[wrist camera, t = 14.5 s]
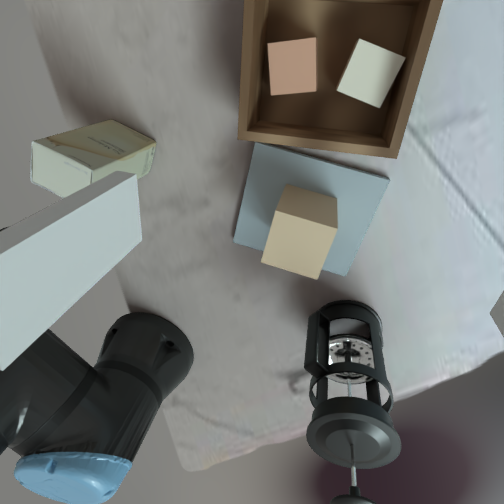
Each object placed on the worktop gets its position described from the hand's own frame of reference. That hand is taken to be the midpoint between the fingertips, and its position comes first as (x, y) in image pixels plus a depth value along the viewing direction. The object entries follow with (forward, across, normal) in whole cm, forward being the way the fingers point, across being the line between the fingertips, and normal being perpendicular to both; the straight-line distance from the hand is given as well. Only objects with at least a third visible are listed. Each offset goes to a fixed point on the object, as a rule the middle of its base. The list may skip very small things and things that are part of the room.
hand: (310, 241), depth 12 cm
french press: (+27, +8, -27) cm, 39 cm away
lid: (+27, -1, -11) cm, 29 cm away
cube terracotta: (+26, -4, +4) cm, 27 cm away
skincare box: (+27, -23, -6) cm, 36 cm away
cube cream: (+26, +2, +4) cm, 27 cm away
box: (+27, -1, +4) cm, 27 cm away
